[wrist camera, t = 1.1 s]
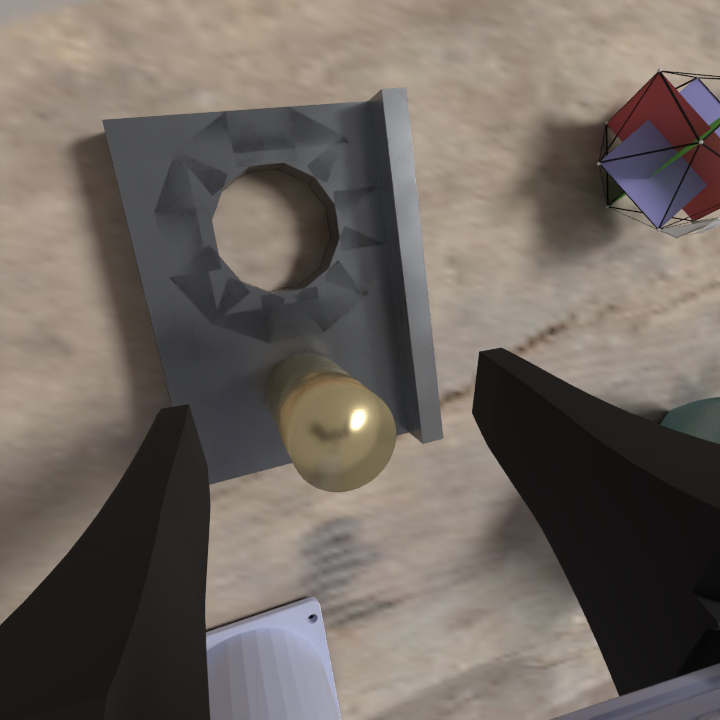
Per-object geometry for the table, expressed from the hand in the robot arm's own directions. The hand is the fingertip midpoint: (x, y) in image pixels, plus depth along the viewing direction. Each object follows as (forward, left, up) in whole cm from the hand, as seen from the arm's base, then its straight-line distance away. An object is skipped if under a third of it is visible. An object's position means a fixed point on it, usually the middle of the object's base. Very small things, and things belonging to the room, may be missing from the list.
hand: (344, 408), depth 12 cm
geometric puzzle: (+6, -20, -11) cm, 23 cm away
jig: (+2, -1, -11) cm, 11 cm away
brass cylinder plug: (-2, -1, -10) cm, 10 cm away
